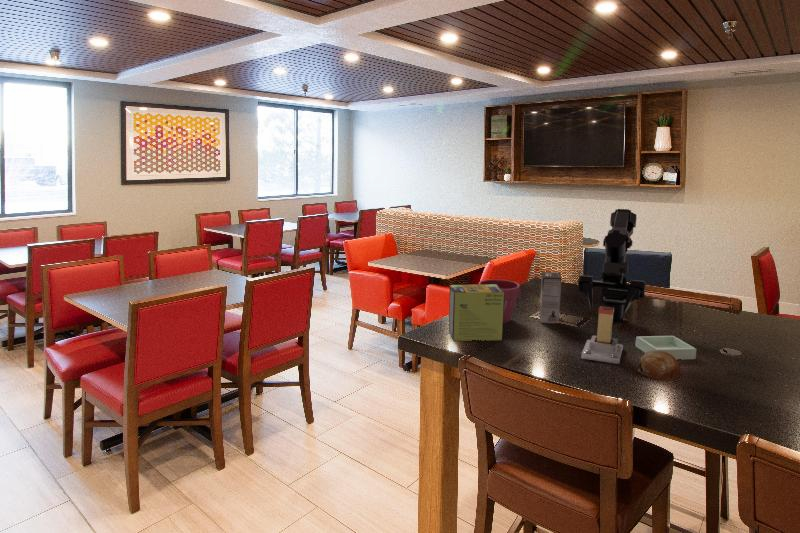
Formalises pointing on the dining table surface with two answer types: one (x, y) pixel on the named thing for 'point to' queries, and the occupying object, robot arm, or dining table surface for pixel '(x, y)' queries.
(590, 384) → the dining table surface
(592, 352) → the bracket
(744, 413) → the dining table surface
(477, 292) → the protein box
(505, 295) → the plant pot
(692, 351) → the tray
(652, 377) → the bread roll
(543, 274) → the coffee box
